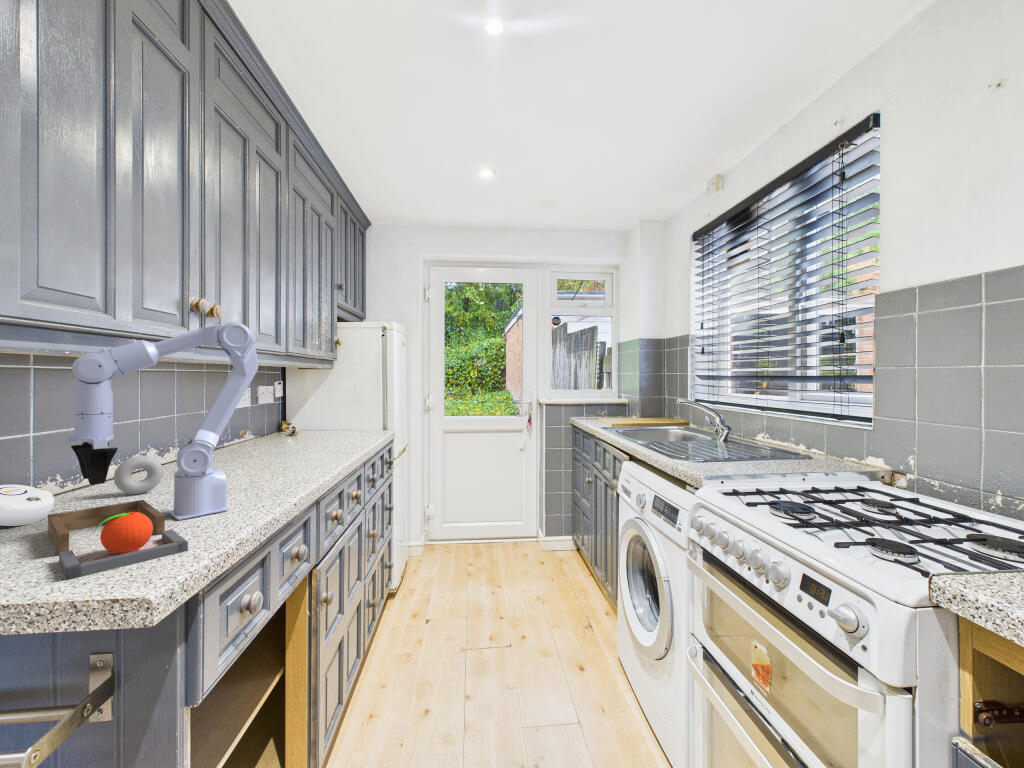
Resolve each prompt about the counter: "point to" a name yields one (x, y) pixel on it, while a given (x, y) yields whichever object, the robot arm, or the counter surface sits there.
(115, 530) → the clementine
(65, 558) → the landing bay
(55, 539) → the brown wooden frame
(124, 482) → the donut
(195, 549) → the counter surface
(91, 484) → the robot arm
